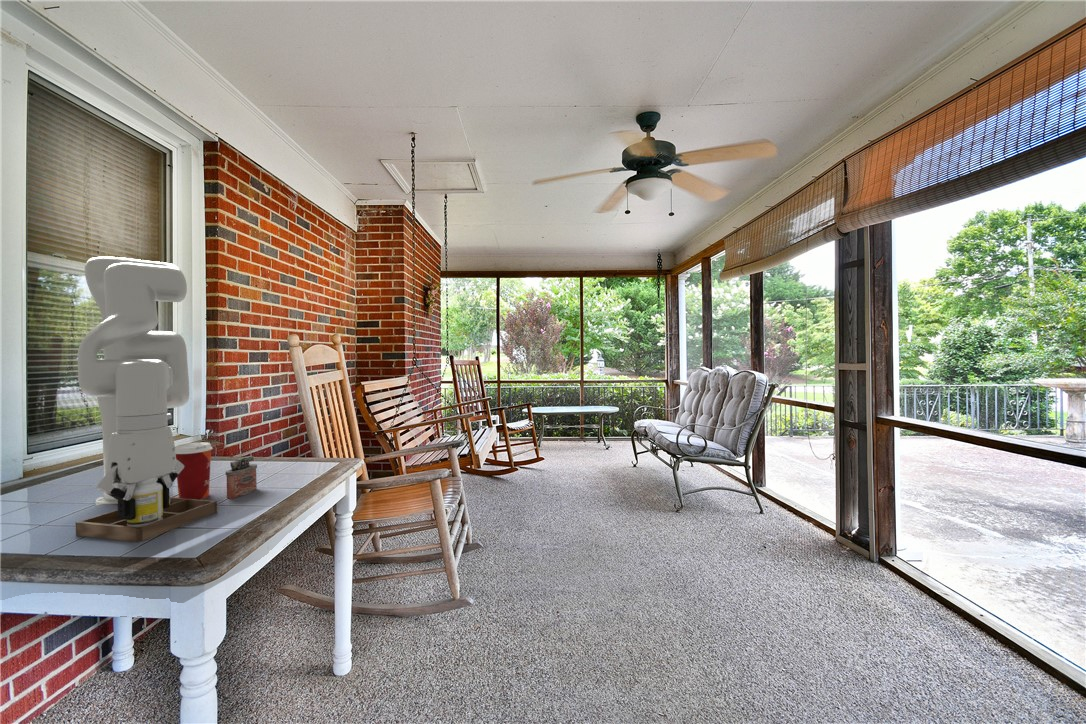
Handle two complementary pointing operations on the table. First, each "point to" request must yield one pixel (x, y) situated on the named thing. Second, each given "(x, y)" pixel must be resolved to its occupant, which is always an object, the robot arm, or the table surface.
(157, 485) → the supplement bottle
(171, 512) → the wooden compartment tray
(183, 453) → the paper cup
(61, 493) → the table surface
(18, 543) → the table surface
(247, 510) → the table surface
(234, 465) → the lighter
